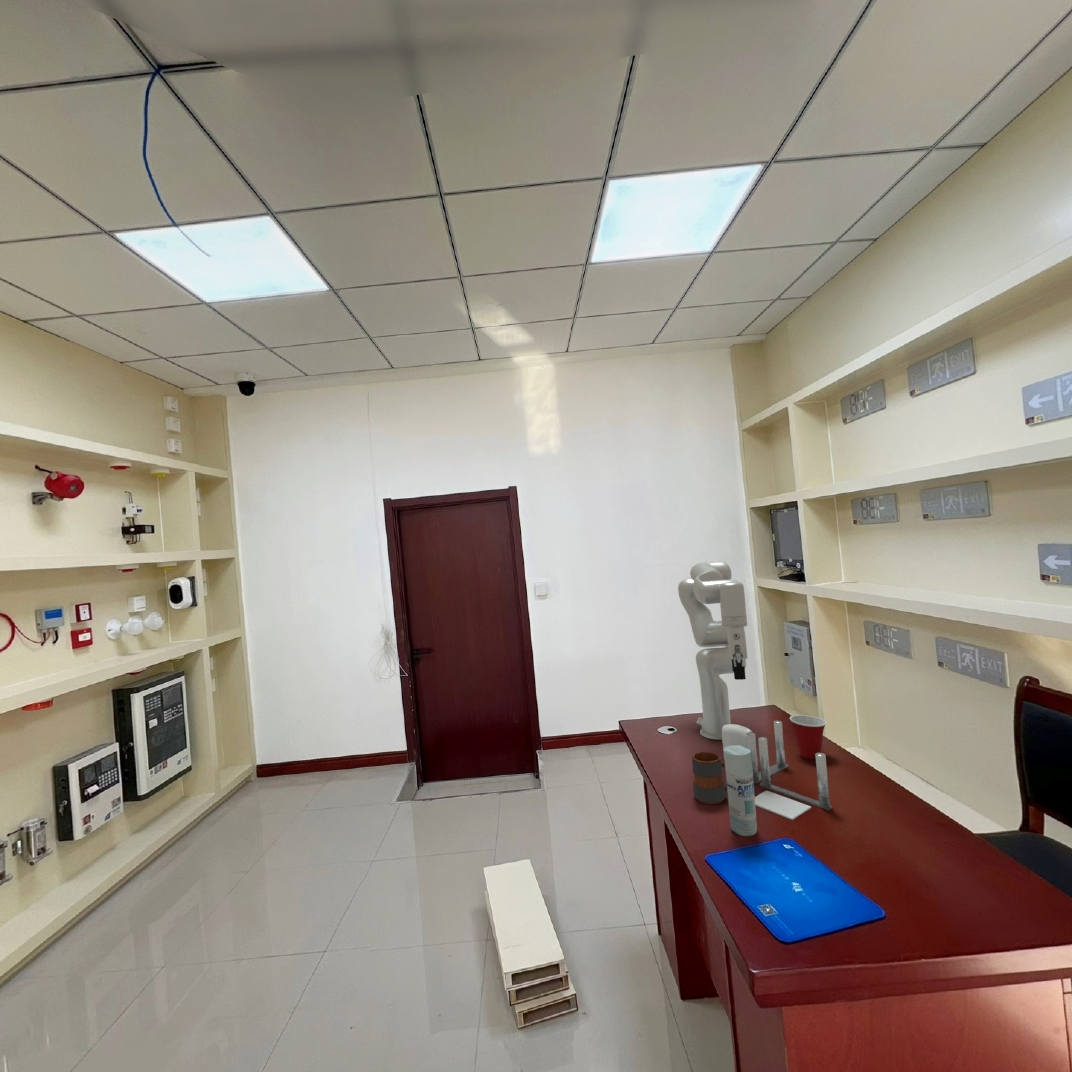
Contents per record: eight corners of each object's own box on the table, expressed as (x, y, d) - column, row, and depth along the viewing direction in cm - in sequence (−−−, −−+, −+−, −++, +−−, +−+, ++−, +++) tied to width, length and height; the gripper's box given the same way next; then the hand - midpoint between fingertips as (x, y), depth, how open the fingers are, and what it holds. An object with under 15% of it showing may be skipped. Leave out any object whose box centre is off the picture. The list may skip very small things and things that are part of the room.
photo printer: (722, 761, 178) (718, 723, 179) (729, 757, 181) (726, 720, 181) (751, 770, 170) (748, 730, 171) (758, 765, 173) (755, 726, 173)
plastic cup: (837, 760, 172) (833, 722, 173) (804, 764, 172) (800, 726, 172) (817, 747, 183) (814, 712, 183) (786, 751, 183) (783, 715, 183)
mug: (741, 804, 150) (737, 762, 150) (696, 805, 151) (692, 763, 152) (734, 790, 158) (730, 750, 159) (691, 791, 160) (688, 751, 160)
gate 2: (759, 786, 160) (755, 738, 160) (764, 783, 161) (760, 736, 161) (828, 810, 143) (823, 757, 144) (832, 807, 145) (828, 754, 145)
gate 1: (747, 780, 164) (743, 733, 164) (779, 763, 174) (776, 719, 174) (756, 783, 162) (752, 736, 162) (788, 766, 171) (784, 721, 171)
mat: (747, 802, 151) (747, 801, 151) (766, 791, 156) (766, 790, 156) (792, 820, 140) (792, 818, 140) (811, 808, 145) (811, 806, 145)
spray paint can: (744, 820, 142) (738, 743, 142) (763, 832, 136) (756, 751, 136) (724, 827, 139) (718, 748, 140) (742, 839, 133) (735, 757, 134)
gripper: (749, 625, 164) (754, 682, 163) (744, 616, 180) (749, 668, 180) (722, 625, 166) (727, 682, 165) (720, 617, 182) (725, 669, 182)
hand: (738, 675), depth 173 cm, fingers open, 9 cm apart
